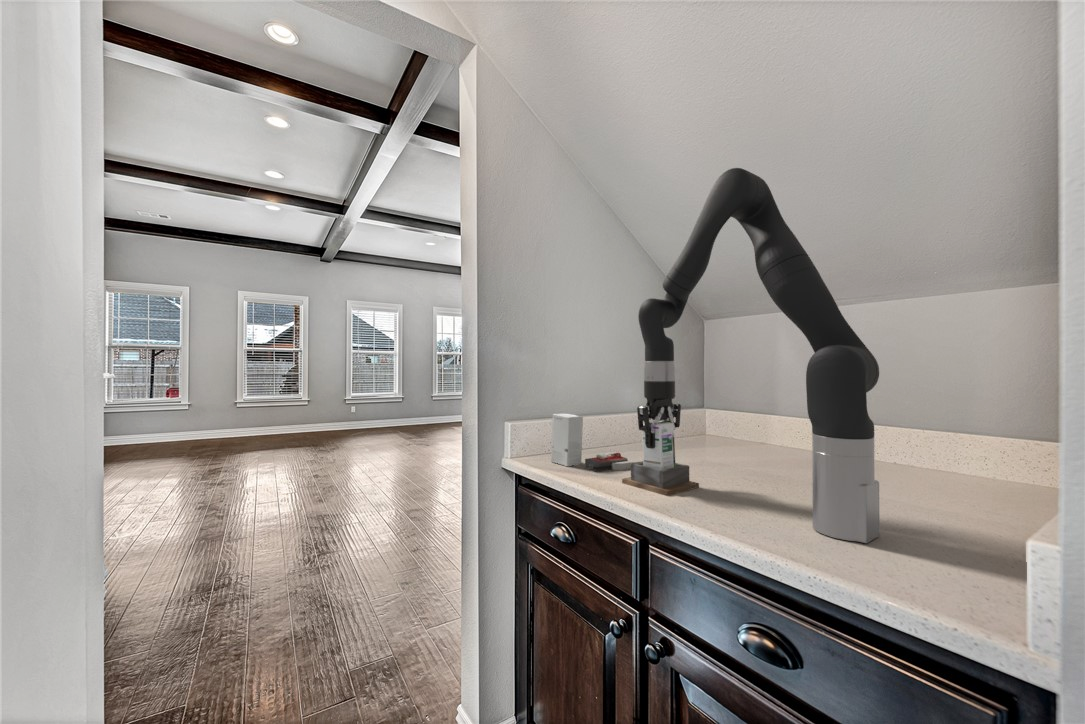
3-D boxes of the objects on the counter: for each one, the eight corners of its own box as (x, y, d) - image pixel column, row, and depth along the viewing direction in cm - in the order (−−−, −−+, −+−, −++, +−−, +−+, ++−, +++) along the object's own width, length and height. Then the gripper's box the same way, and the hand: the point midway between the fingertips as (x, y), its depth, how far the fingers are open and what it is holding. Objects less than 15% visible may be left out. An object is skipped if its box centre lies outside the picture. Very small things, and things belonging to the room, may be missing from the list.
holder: (698, 487, 110) (698, 466, 110) (667, 495, 103) (667, 473, 103) (653, 475, 121) (653, 457, 121) (622, 482, 114) (622, 463, 114)
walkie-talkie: (598, 475, 123) (653, 467, 133) (597, 459, 123) (653, 452, 133) (580, 468, 131) (633, 461, 141) (580, 453, 131) (633, 447, 141)
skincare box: (550, 462, 138) (550, 414, 138) (565, 459, 142) (565, 412, 142) (568, 467, 132) (568, 416, 132) (583, 464, 135) (583, 415, 135)
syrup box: (662, 485, 108) (661, 424, 108) (642, 480, 112) (641, 422, 112) (676, 480, 111) (674, 422, 111) (656, 476, 116) (654, 420, 116)
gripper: (652, 380, 105) (652, 452, 105) (690, 379, 113) (690, 445, 113) (628, 379, 111) (628, 447, 111) (665, 378, 119) (666, 441, 119)
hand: (659, 446), depth 112 cm, fingers open, 6 cm apart
